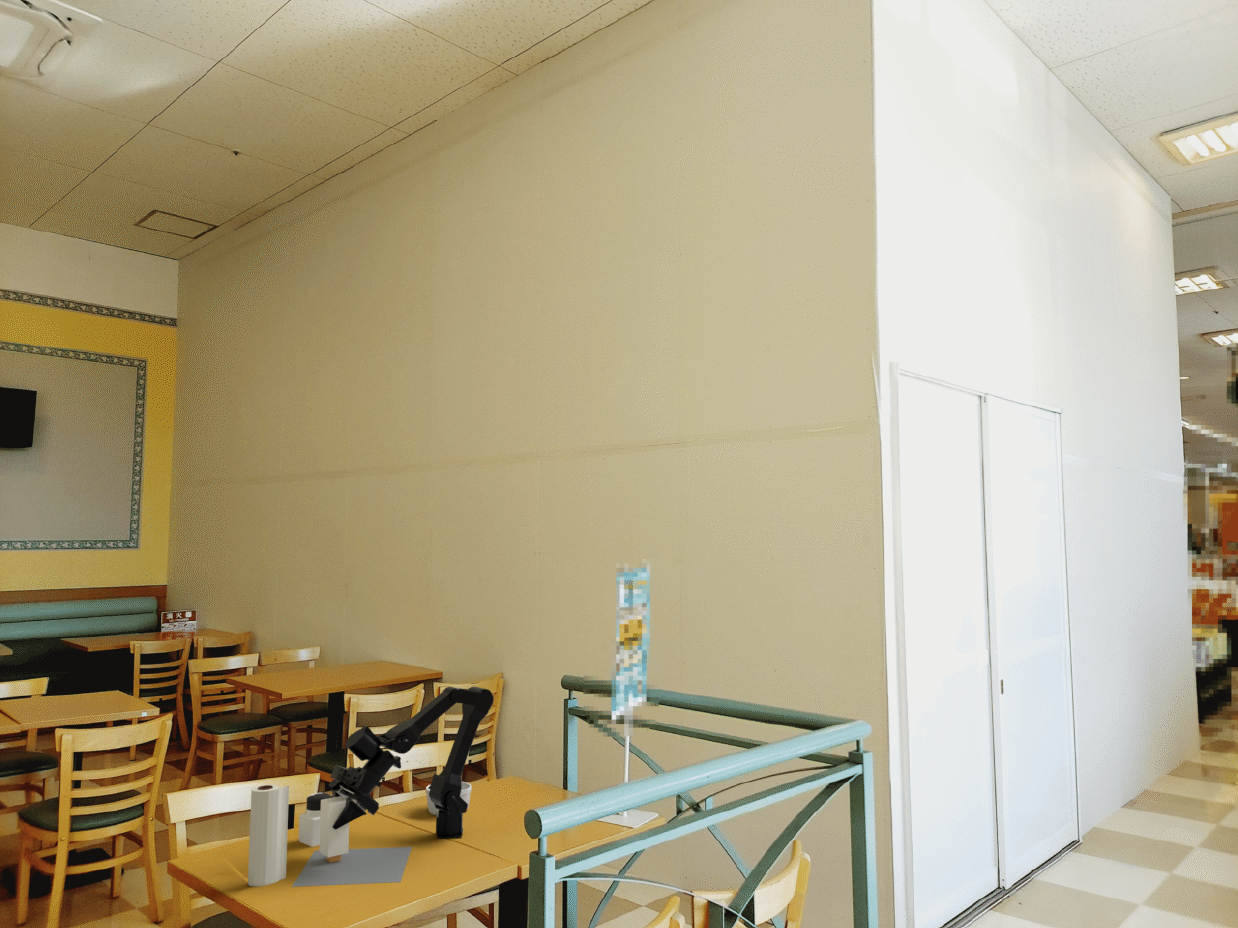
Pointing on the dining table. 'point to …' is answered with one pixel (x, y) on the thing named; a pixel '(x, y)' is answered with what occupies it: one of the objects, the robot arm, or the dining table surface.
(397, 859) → the mat
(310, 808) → the medicine bottle
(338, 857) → the orange block
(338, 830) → the tall white pillar
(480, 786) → the dining table surface
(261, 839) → the paper towel roll
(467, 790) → the ramekin
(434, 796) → the robot arm
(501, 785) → the dining table surface
